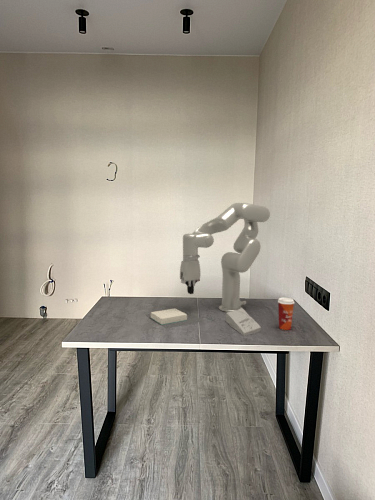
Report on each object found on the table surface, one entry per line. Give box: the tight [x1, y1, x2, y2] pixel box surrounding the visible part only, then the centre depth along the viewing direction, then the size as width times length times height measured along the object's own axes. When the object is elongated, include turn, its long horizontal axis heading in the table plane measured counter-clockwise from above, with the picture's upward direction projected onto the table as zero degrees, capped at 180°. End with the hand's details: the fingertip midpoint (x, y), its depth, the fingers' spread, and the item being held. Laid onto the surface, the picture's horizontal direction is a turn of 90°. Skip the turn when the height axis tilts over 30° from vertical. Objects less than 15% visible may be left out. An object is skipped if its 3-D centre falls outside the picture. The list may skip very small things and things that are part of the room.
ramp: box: [225, 307, 262, 337], centre depth 181 cm, size 28×16×5 cm, turn 177°
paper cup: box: [277, 297, 295, 331], centre depth 177 cm, size 8×8×14 cm
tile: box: [150, 307, 187, 326], centre depth 187 cm, size 3×12×14 cm
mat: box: [146, 308, 206, 329], centre depth 189 cm, size 22×22×1 cm
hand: (190, 293), depth 192 cm, fingers closed
